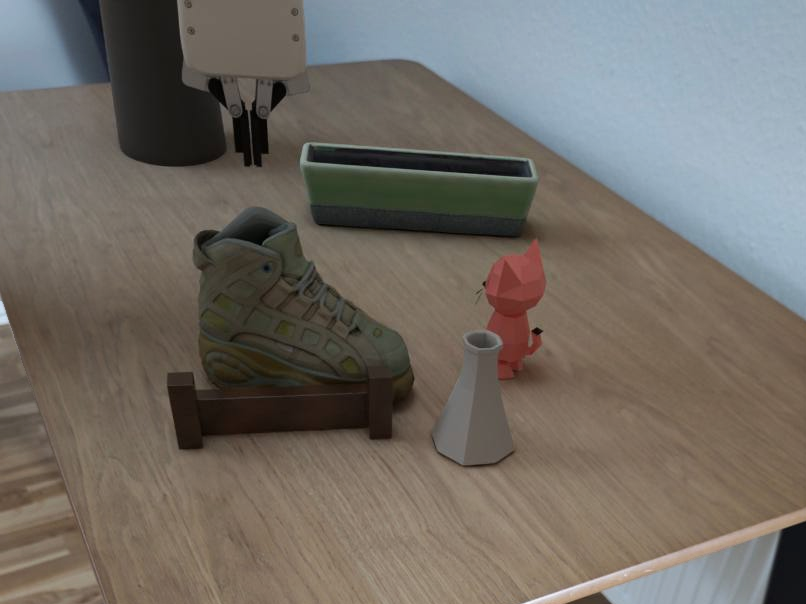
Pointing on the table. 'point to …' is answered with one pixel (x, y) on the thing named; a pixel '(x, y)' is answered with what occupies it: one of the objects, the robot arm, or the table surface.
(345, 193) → the planter
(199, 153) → the vase
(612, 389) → the table surface
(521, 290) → the cat figurine
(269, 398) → the wooden hurdle
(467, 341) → the flask
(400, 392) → the sneaker
